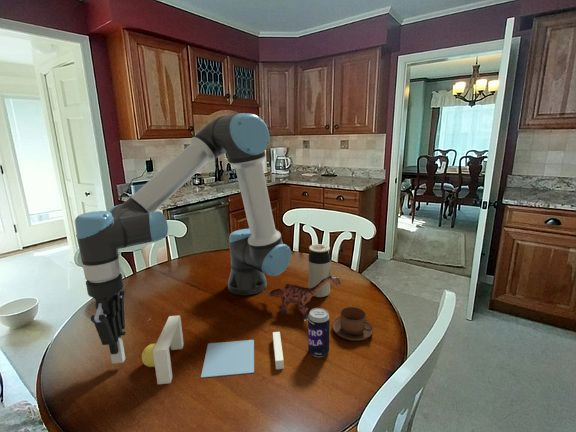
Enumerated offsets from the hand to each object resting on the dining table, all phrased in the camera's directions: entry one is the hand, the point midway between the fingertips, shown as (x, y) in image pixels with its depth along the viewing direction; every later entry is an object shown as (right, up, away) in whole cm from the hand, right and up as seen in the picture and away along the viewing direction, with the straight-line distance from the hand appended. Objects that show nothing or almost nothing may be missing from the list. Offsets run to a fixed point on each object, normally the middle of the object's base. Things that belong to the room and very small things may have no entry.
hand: (118, 360), depth 80 cm
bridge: (+13, -1, +2) cm, 13 cm away
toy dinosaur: (+47, +5, +25) cm, 53 cm away
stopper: (+41, 0, +5) cm, 41 cm away
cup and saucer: (+63, +2, +14) cm, 64 cm away
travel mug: (+55, +8, +37) cm, 67 cm away
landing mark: (+28, -1, +3) cm, 28 cm away
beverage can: (+52, 0, +5) cm, 52 cm away
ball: (+9, +1, +1) cm, 9 cm away
